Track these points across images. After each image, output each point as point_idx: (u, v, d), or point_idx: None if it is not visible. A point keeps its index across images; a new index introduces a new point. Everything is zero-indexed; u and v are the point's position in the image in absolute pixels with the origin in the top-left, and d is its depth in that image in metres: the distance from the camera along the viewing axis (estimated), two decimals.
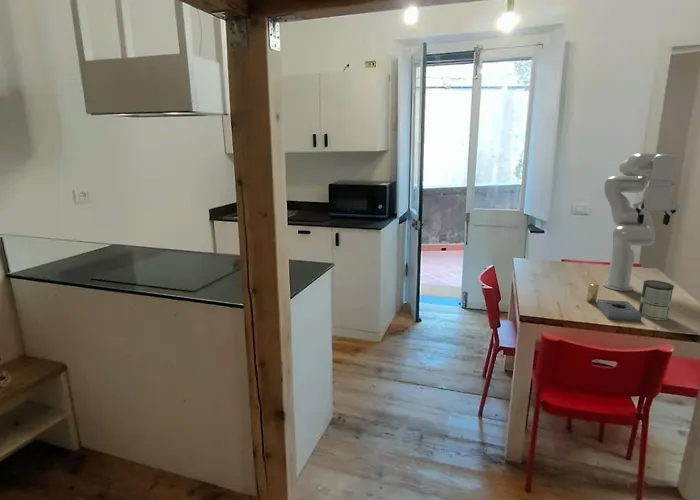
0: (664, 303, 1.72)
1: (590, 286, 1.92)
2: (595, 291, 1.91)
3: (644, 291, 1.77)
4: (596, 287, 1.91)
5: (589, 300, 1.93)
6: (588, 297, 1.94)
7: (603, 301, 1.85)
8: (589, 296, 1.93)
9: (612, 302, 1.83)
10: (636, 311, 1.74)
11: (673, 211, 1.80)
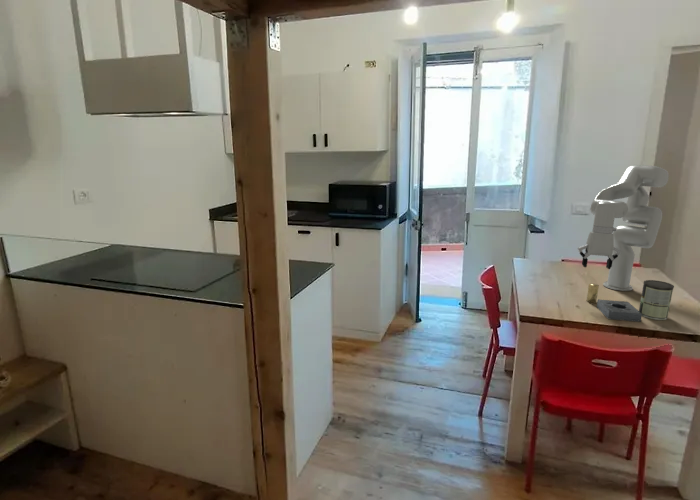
0: (664, 303, 1.72)
1: (590, 286, 1.92)
2: (595, 291, 1.91)
3: (644, 291, 1.77)
4: (596, 287, 1.91)
5: (589, 300, 1.93)
6: (588, 297, 1.94)
7: (603, 301, 1.85)
8: (589, 296, 1.93)
9: (612, 302, 1.83)
10: (636, 311, 1.74)
11: (615, 256, 1.87)
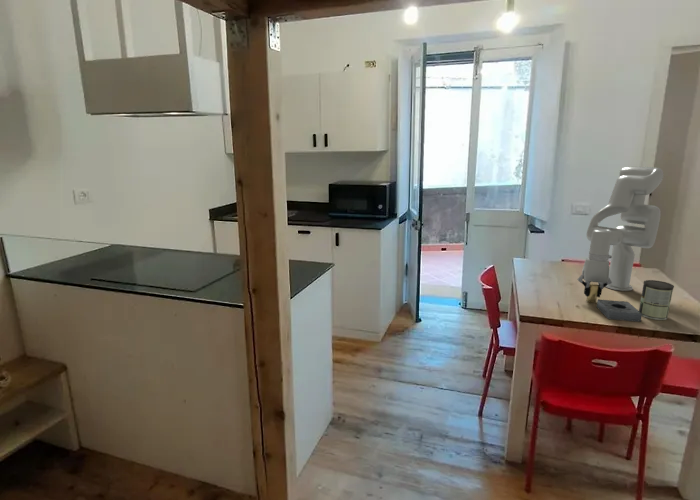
0: (664, 303, 1.72)
1: (590, 286, 1.92)
2: (595, 291, 1.91)
3: (644, 291, 1.77)
4: (596, 287, 1.91)
5: (589, 300, 1.93)
6: (588, 297, 1.94)
7: (603, 301, 1.85)
8: (589, 296, 1.93)
9: (612, 302, 1.83)
10: (636, 311, 1.74)
11: (604, 285, 1.91)
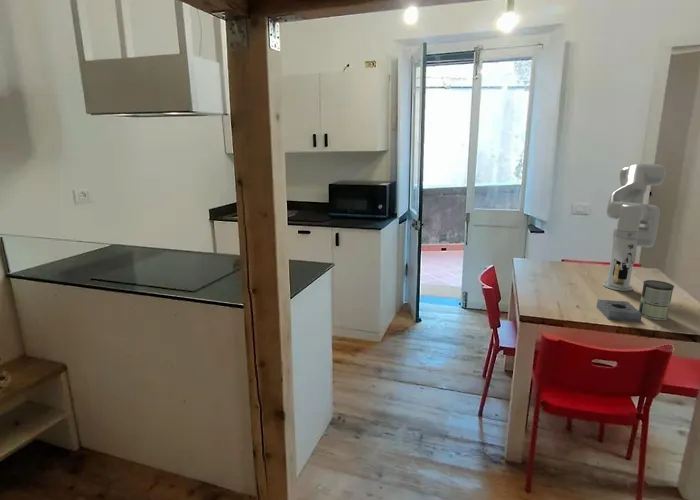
0: (664, 303, 1.72)
1: None
2: (615, 270, 1.77)
3: (644, 291, 1.77)
4: (616, 266, 1.77)
5: None
6: None
7: (603, 301, 1.85)
8: None
9: (612, 302, 1.83)
10: (636, 311, 1.74)
11: (624, 266, 1.73)
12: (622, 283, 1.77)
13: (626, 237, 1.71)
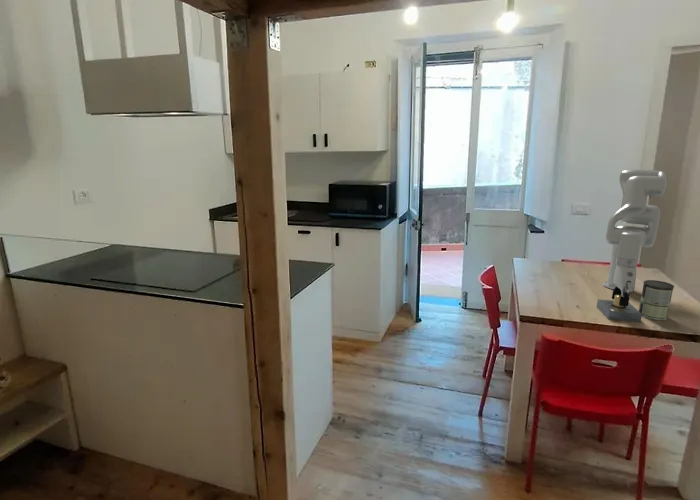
0: (664, 303, 1.72)
1: None
2: (614, 301, 1.79)
3: (644, 291, 1.77)
4: (615, 297, 1.78)
5: None
6: None
7: (603, 301, 1.85)
8: None
9: (612, 302, 1.83)
10: (636, 311, 1.74)
11: (625, 293, 1.72)
12: None
13: (625, 265, 1.72)
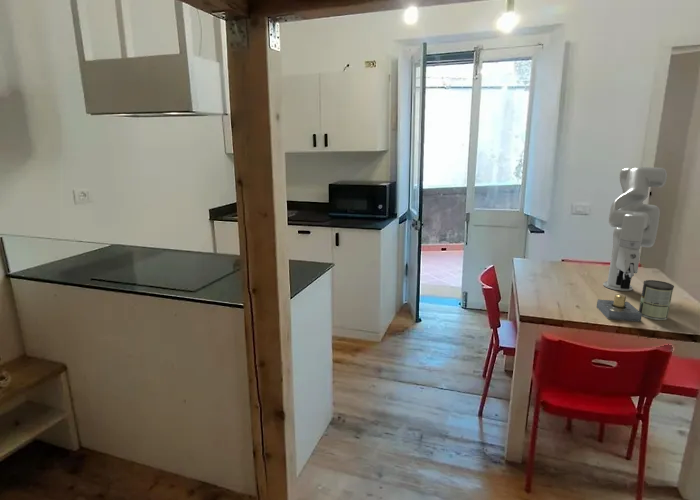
0: (664, 303, 1.72)
1: None
2: (614, 301, 1.79)
3: (644, 291, 1.77)
4: (616, 297, 1.78)
5: None
6: None
7: (603, 301, 1.85)
8: None
9: (612, 302, 1.83)
10: (636, 311, 1.74)
11: (626, 276, 1.72)
12: None
13: (628, 247, 1.70)
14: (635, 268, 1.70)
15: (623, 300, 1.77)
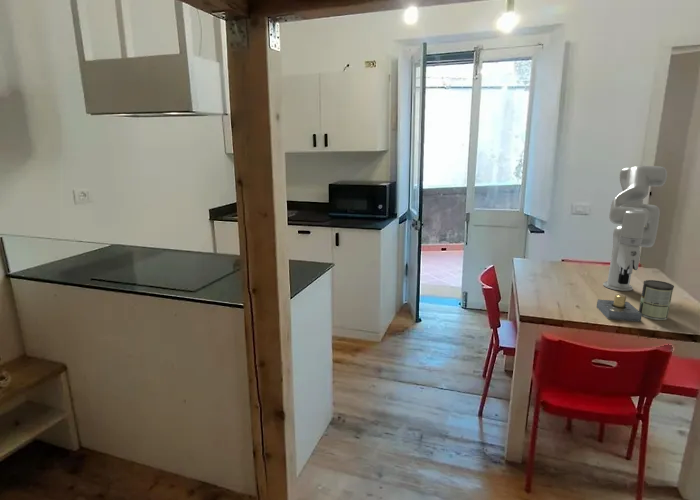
0: (664, 303, 1.72)
1: None
2: (615, 301, 1.79)
3: (644, 291, 1.77)
4: (616, 297, 1.78)
5: None
6: None
7: (603, 301, 1.85)
8: None
9: (612, 302, 1.83)
10: (636, 311, 1.74)
11: (625, 271, 1.74)
12: None
13: (629, 244, 1.70)
14: (635, 265, 1.70)
15: (623, 300, 1.77)
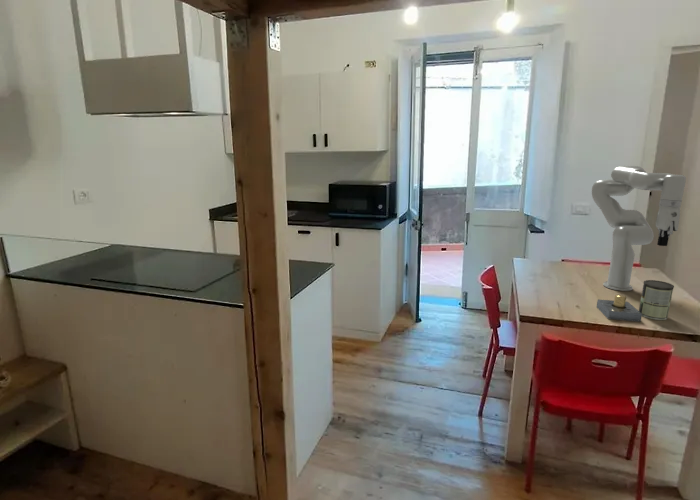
0: (664, 303, 1.72)
1: None
2: (615, 301, 1.79)
3: (644, 291, 1.77)
4: (616, 297, 1.78)
5: None
6: None
7: (603, 301, 1.85)
8: None
9: (612, 302, 1.83)
10: (636, 311, 1.74)
11: (665, 233, 1.83)
12: None
13: (669, 206, 1.79)
14: (676, 226, 1.79)
15: (623, 300, 1.77)
